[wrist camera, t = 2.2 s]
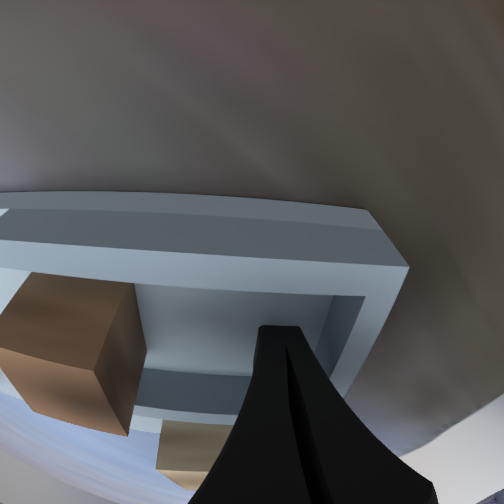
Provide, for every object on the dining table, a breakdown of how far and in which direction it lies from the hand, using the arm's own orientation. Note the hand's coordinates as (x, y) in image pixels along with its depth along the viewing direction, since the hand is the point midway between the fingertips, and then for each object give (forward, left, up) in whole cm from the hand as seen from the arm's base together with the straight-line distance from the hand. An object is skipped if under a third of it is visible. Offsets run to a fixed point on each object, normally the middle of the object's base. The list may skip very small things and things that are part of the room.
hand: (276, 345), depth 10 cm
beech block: (-7, +2, -1) cm, 8 cm away
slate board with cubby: (-3, +9, -2) cm, 10 cm away
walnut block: (0, +7, -1) cm, 7 cm away
